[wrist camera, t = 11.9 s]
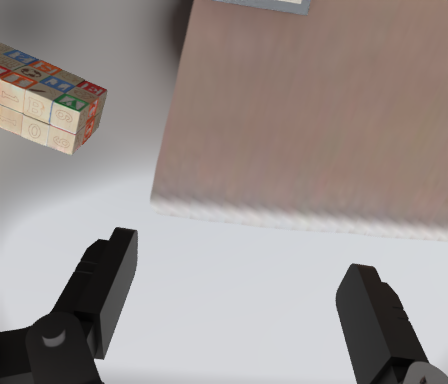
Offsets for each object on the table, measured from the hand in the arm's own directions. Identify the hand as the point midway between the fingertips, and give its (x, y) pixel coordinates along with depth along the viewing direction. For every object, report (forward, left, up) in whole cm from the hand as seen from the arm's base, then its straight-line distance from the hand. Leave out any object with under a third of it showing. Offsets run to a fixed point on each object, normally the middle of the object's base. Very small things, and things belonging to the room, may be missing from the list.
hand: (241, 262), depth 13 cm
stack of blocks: (+28, +7, -36) cm, 46 cm away
